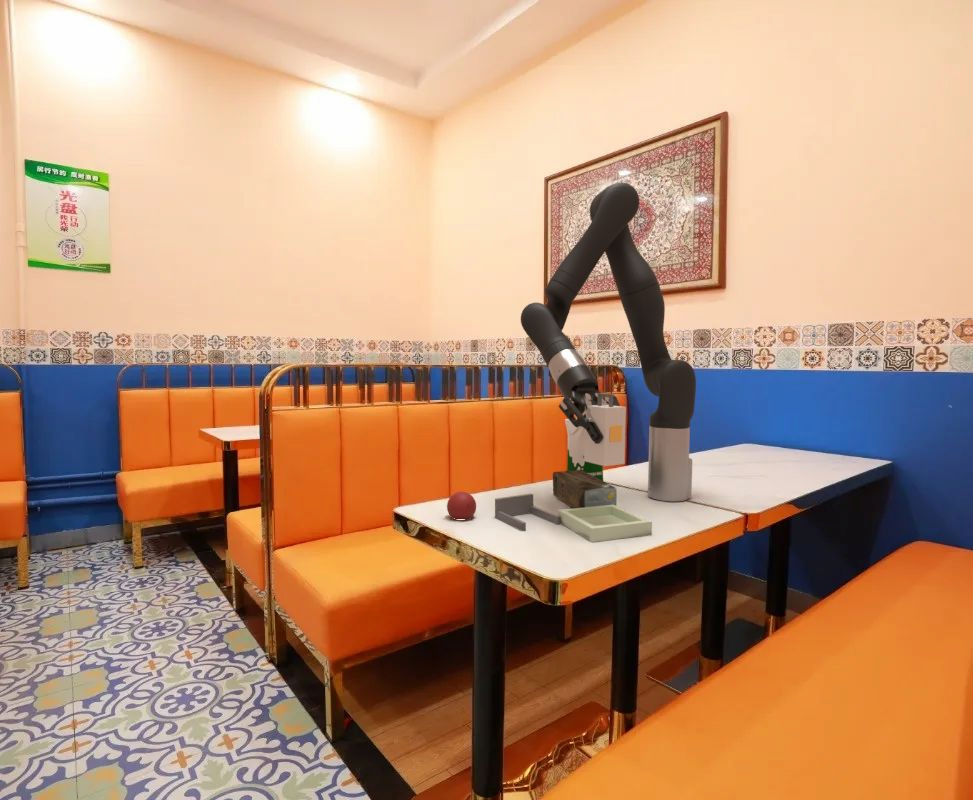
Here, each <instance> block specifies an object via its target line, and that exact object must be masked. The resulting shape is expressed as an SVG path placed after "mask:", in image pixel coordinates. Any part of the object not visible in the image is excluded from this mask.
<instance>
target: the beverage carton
mask: <svg viewBox="0 0 973 800" xmlns="http://www.w3.org/2000/svg"><path fill="white" fill-rule="evenodd" d="M552 493H553V496H555V497H556V498H558V499H559V500H560V501H562V502H564V503H565V504H567V505H568V506H570V507H571V509H574V508H584V507H594V506H604V505H615V506H618V505H617V487H615V486H613V485H610V484H609V483H607V482H605V481H604V480H603V481H602V480H600V479H598V478H596V477H594V476H592V475H590V474H588V473H586V472H584V471H581V470H576V471H567V470H563V471H553V472H552Z"/></svg>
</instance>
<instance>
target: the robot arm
mask: <svg viewBox="0 0 973 800" xmlns="http://www.w3.org/2000/svg"><path fill="white" fill-rule="evenodd" d="M639 208H640V195H639V193H638V191H637V189H636V188H635V187H634V186H633V185H631V184H630V183H627V182H624V181H623V182H622V181H621V182H615V183H612V184H610V185H608V186H607V187H606V188H604V189H603V190H601V191H600V192H599V193H598V194H597V195H596V196H595V197H593V199H592V200H591V203H590V206H589V216H590V217H589V218H590V221H591V223H590V224H589V225H588V227H587V229H586V231H584V233H583V235H582V237H581V238H580V239H579V240H578V241H577V242H576V244H575V245H574V247H573V248H571V250H570V251H569V252H568V254H567V255H566V256H565V257H564V258H563V260H562V261H561V263H560V264H559V265H558V266H557V269H556V270H555V272H554V273H553V275H552V277H551V278H550V280H549V281H548V283H547V284H546V286H545V290H544V294H545V297H546V301H547V302H546V304H543V303H541V302H532V303H529V304H527V305H525V307H523V310H522V312H521V314H520V325H521V327H522V330H524V332H525V333H526V335H527V336H528V337H529V339H530V340H531V342H532V343H533V344H534V346H535V347H536V348H537V350H538V351H539V353H540V355H541V357H542V359H543V361H544V363H545V364H546V366H547V368H548V370H549V372H550V375H551V377H552V379H553V381H554V383H555V384H556V386H557V387H558V389H559V391H560V393H561V395H562V396H563V398H562V400H561V402H560V403H559V404H558V408H559V410H560V411H561V412H562V413H563V414H564V416H566V419H569V420H570V421H571V423H572V424H573V425H574V426H575V427H579V426H581V427H583V429H586V431H587V432H588V434H589V436H590V438H591V439H592V440H593V441H594V442H595V444H599V443H600V442H601V441H602V440H603V435H602V433H601V431H600V430H599V428H598V426H597V425H596V423H595V422H593V421H594V420H593V417H592V415H591V414H590V408H589V407H588V406H592V405H597V400H598V393H602V392H601V391H600V389H599V381H598V380H597V378H596V377H595V375H594V373H593V372H592V371H591V368H590V367H589V366H588V364H587V363H586V360H585V359H584V358H583V357H582V356H581V354H580V353H579V352H578V351H577V349H576V347H575V346H574V344H573V342H572V341H571V340H570V338H569V337H568V336H567V335H566V333H564V332H563V329H564V327H565V324H566V323H567V319H568V317H569V313H570V310H571V307H572V304H573V302H574V300H575V299H576V297H577V296H578V294H579V293H580V291H581V289H582V288H583V286H584V285H585V284H586V282H587V280H588V278H589V277H590V275H591V273H592V272H593V271H594V269H595V267H596V265H597V264H598V263H599V261H600V259H601V258H602V256H603V255H604V253H605V255H606V257H607V260H608V264H609V267H610V271H611V273H612V277H613V279H614V282H615V285H616V289H617V293H618V296H619V298H620V302H621V305H622V308H623V310H624V314H625V317H626V319H627V321H628V324H629V328H630V331H631V334H632V337H633V340H634V342H635V345H636V350H637V352H638V357H639V362H640V367H641V371H642V377H643V379H644V383H645V386H646V388H647V389H648V391H649V392H650V393H651V394H652V395H653V396H655V397H658V404H657V409H656V410H655V411H654V412H653V413H651V414H650V416H649V422H648V423H649V425H648V426H649V432H648V433H649V435H648V468H647V469H648V471H647V472H648V473H647V497H649V498H651V499H653V500H658V501H663V502H683V501H687V500H688V499H692V489H693V488H692V487H693V486H692V484H693V458H691V457H690V433H691V430H690V429H691V420H692V418H693V416H694V412H695V406H696V405H695V404H696V402H695V401H696V392H697V378H696V377H697V376H696V371H695V370H694V368H693V366H692V365H691V363H689V362H687V361H686V360H682V359H672V357H671V355H670V353H669V349H668V348H667V344H666V341H665V335H664V334H665V333H664V327H665V326H664V325H665V312H666V311H665V309H666V308H665V299H664V296H663V293H662V289H661V287H660V283H659V280H658V278H657V276H656V274H655V272H654V270H653V269H652V267H651V266H650V264H649V263H648V261H647V260H646V259H645V258H644V257H643V256H642V254H641V253H640V251H639V250H638V248H637V246H636V244H635V242H634V240H633V237H632V233H631V230H630V225H629V223H630V222H631V221H632V220H633V219H634V218H635V217H636V215H637V213H638V210H639ZM602 405H609V397H602ZM613 406H621V404H620V403H619V400H618V398H617V396H616V395H614V394H613ZM585 407H586V409H585ZM576 418H577V419H576ZM626 436H627V435H626V433H625V437H626Z"/></svg>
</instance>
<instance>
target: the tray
mask: <svg viewBox="0 0 973 800" xmlns="http://www.w3.org/2000/svg"><path fill="white" fill-rule="evenodd" d="M557 515H558V516H560V517H561V518H560V525H562V526H564V527H566V528H567V529H569V530H571V531H572V532H574V533H575V534H577V535H579V536H581V537H582V538H584V539H585V540H587V541H589V542H591V543H595V542H603V541H604V542H605V541H612V540H618V539H619V540H620V539H627V538H636V537H642V536H643V535H645V536H651V535H650V534H653V530H652V529H653V524H652V523H653V521H652V520H649V519H647V518H645V517H642V516H640V515H639V514H638V515H637V514H635V513H633V512H631V511H629V510H626V509H625V508H622V507H620V506H618V505H617V506H615V505H604V506H594V507H584V508H565V509H558V514H557Z"/></svg>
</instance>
